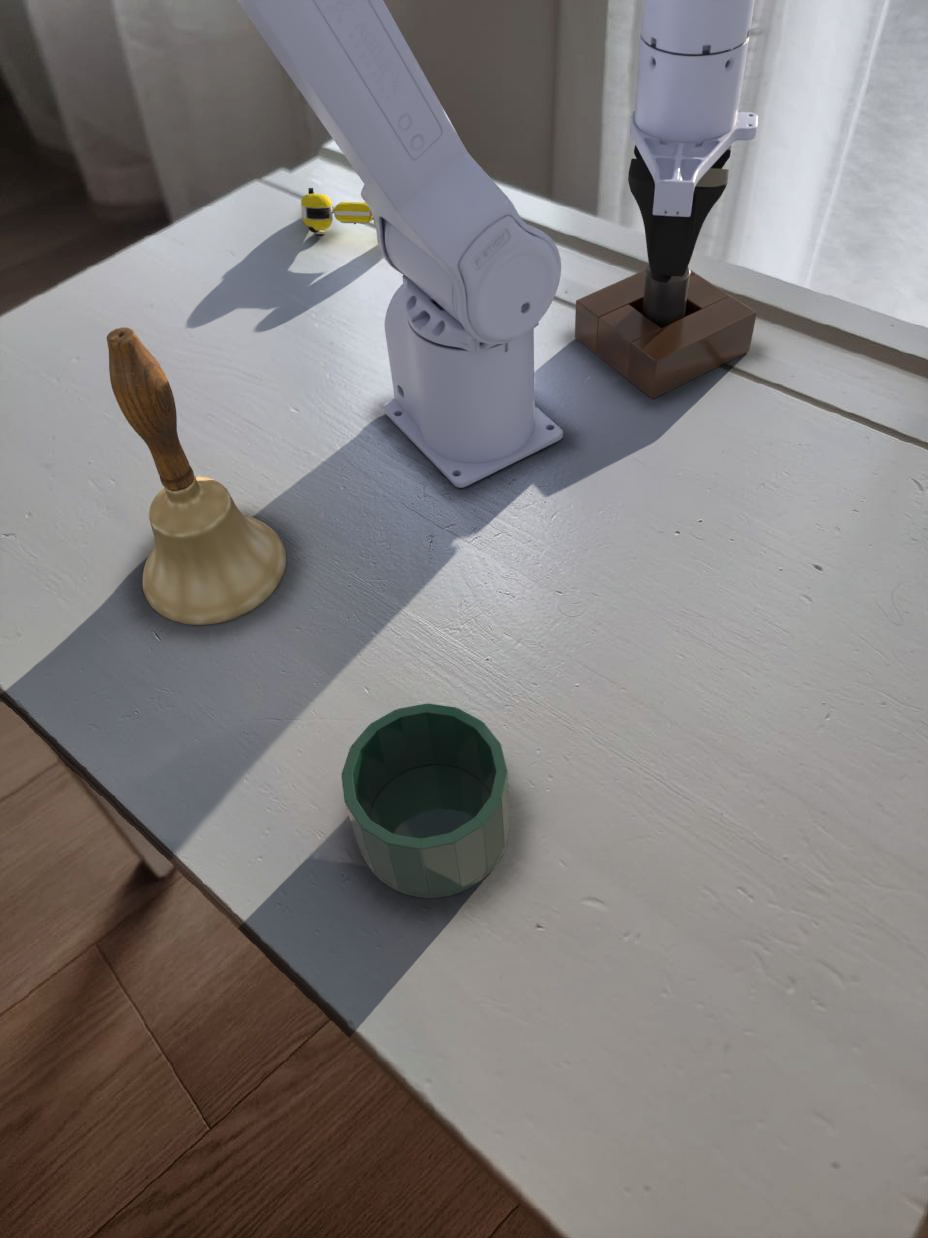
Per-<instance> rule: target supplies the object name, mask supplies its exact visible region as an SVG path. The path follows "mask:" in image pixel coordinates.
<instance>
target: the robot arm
mask: <svg viewBox="0 0 928 1238" xmlns="http://www.w3.org/2000/svg"><path fill="white" fill-rule="evenodd" d="M236 1H237V3H238V4H239V5H240V8H242V10H243V11H244V13H245V14H246V16H247V17H248V19H249V20H250V22H251V23H252V25H253V26H254V27H255V29H256V30H257V32H258V33H259V34H260V36H261V37H262V39H263V40H264V41H265V43H266V45H267V47H269V49H270V50H271V52H272V53H273V55H274V56H275V57H276V59H277V61H278V62H279V64H280V65H281V66H282V68H283V69H284V70H285V72H286V74H287V75H288V76H289V78H290V80H291V81H292V82H293V83H294V85H295V87H296V88H297V89H298V91H299V92H300V93H301V95H302V97H303V98H304V100H305V101H306V103H307V104H308V105H309V106H310V109H312V111H313V112H314V114H315V116H316V117H317V118H318V119H319V121H320V122H321V124H322V125H323V127H324V128H325V129H326V131H327V132H328V134H329V136H330V137H331V138H332V141H334V143H335V144H336V145H337V147H338V148H339V150H340V151H341V153H342V154H343V156H344V157H345V158H346V160H347V161H348V163H349V164H350V165H351V167H352V169H353V170H354V171H355V173H356V175H358V177H359V179H360V180H361V181H362V183H363V186H362V188H361V191H360V196H361V198H362V200H363V201H364V203H366V204H367V205H368V207H369V209H370V210H371V212H372V214H373V217H374V220H375V223H376V227H375V231H376V239H377V244H378V248H379V251H380V253H381V255H382V257H383V259H384V260H385V261H386V263H387V264H388V265H389V266H390V267H392V269H394V270H395V271H397V272H398V273H400V274H401V275H402V284H401V285H400V286H399V287H398V288H397V289H396V291H395V292H394V294H393V295H392V297H391V299H390V301H389V303H388V306H387V309H386V312H385V317H384V335H385V339H386V347H387V355H388V363H389V368H390V374H391V382H392V389H393V390H392V391H393V394H394V395H393V396H394V398H393V399H391V400H389V401H387V402H385V403H384V404H383V405H382V409H383V412H384V414H385V415H386V416H387V417H388V419H390V421H392V422H393V423H394V424H395V426H396V427H398V428H399V430H400V431H401V432H402V433H403V434H404V435H405V436H406V437H407V438H408V439H409V440H410V441H411V442H412V443H413V444H414V445H415V446H416V448H418V449H419V451H420V452H422V453H423V455H425V456H426V457H427V458H428V460H429V461H430V462H431V463H432V464H433V465H434V466H435V467H436V468H437V469H438V470H439V471H440V472H441V473H442V474H443V475H444V476H445V477H446V479H447V480H448V481H450V482H451V483H452V485H453V486H455V487H456V488H461V489H462V488H466V487H468V486H470V485H473V484H474V483H477V482H478V481H481V480H482V479H484V478H486V477H489V476H491V475H493V474H495V473H496V472H498V471H501V470H502V469H504V468H507V467H508V466H511V465H512V464H514V463H516V462H518V461H520V460H522V459H525V458H526V457H528V456H531V455H533V454H535V453H537V452H540V450H543V449H545V448H547V447H549V446H551V445H553V444H555V443H557V442H559V441H561V440H562V439H563V438H564V430H563V429H562V428H561V427H560V426H559V425H557V424H556V422H554V421H553V420H552V419H551V418H550V417H548V415H546V414H545V413H544V412H543V411H542V410H541V409H540V408H538V407H537V406H536V405H535V341H534V340H535V336H534V335H535V331H534V329H535V328H536V327H538V326H539V325H540V321H541V319H542V318H543V317H544V315H546V313H547V312H548V310H549V308H550V307H551V305H552V303H553V301H554V299H555V297H556V294H557V292H558V288H559V285H560V281H561V276H562V261H561V254H560V252H559V249H558V247H557V245H556V243H555V241H554V240H553V239H552V238H551V236H550V235H548V234H547V233H545V232H544V231H543V230H541V229H539V228H537V227H535V226H533V225H531V224H528V223H527V222H525V221H524V220H523V219H522V217H521V215H520V214H519V213H518V211H517V209H516V207H515V205H514V203H513V202H512V201H511V199H510V198H509V197H508V196H507V194H506V193H504V191H503V190H502V189H501V188H500V187H499V185H498V184H497V183H496V182H495V181H494V180H493V179H492V178H491V177H490V176H489V175H488V173H487V172H486V171H485V170H484V169H483V168H482V167H481V166H480V164H479V163H477V161H476V160H475V159H474V158H473V157H472V156H471V154H470V153H469V151H467V149H466V147H465V145H464V143H463V141H462V140H461V138H460V136H459V134H458V132H457V131H456V129H455V127H454V125H453V123H452V122H451V120H450V118H449V116H448V114H447V113H446V111H445V109H444V107H443V106H442V104H441V102H440V100H439V98H438V97H437V94H436V93H435V91H434V89H433V87H432V85H431V84H430V82H429V80H428V79H427V76H426V75H425V73H424V71H423V70H422V68H421V66H420V64H419V63H418V60H417V58H416V57H415V54H413V53H414V52H413V51H412V50H411V48H410V46H409V44H408V43H407V41H406V39H405V37H404V35H403V34H402V31H401V30H400V28H399V26H398V24H397V22H396V21H395V19H394V17H393V16H392V13H391V12H390V10H389V9H388V7H387V4H386V3H385V1H384V0H236ZM755 2H756V0H642V11H641V22H640V36H639V39H640V40H639V47H638V48H639V49H638V60H637V61H638V62H637V64H638V65H637V75H636V90H635V103H634V111H633V112H632V113H631V116H630V122H629V123H630V124H629V134H630V137H631V139H632V141H633V143H634V149H633V154H634V156H635V158H633V157H632V158H631V159H630V163H629V168H628V174H627V175H628V176H627V181H628V187H629V190H630V193H631V195H632V196H633V198H634V200H635V202H636V204H637V206H638V209H639V211H640V215H641V219H642V221H643V222H642V223H643V228H644V233H645V234H644V235H645V245H646V253H647V254H646V255H647V260H648V266H649V267H650V271H651V274H653V275H665V276H680V277H682V276H684V274H685V272H686V270H687V267H689V265H690V262H691V259H692V257H693V254H694V250H695V248H696V245H697V241H698V238H699V236H700V233H701V230H702V228H703V225H704V223H705V221H706V219H707V217H708V215H709V213H710V212H711V210H712V209H713V207H714V206H715V205H716V203H717V202H718V201H719V200H720V198H721V197H722V196H723V194H724V192H725V190H726V188H727V186H728V182H729V172H730V169H728V168H724V167H725V164H726V163H727V162H728V160H729V159H730V158H731V152H732V145H733V144H734V143H735V142H737V141H752V140H754V139H755V138H756V137H757V132H758V126H759V125H758V124H759V116H758V114H756V113H755V112H750V111H740V109H739V108H740V101H741V97H742V89H743V82H744V75H745V70H746V69H745V68H746V64H747V63H746V62H747V56H748V55H747V54H748V49H749V42H750V36H751V35H750V34H751V29H752V23H753V22H752V21H753V17H754V9H755ZM374 220H373V221H374Z"/></svg>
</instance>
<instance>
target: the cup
mask: <svg viewBox="0 0 928 1238" xmlns="http://www.w3.org/2000/svg"><path fill="white" fill-rule="evenodd" d="M340 776H341V784H342V794H343V799H344V800H343V801H344V804H345V807H346V811H347V814H348V817H349V820H350V823H351V827H352V830H353V832H354V836H355V839H356V842H357V845H358V849H359V851H360V852H361V854H362V856H363V859H364V861H365V862H366V865H367V866H368V868H369V869H370V870H371V872H372V873H373V874H374V875H375V876H376V877H377V878H378V879H379V880H380V881H381V882H382V883H384V884H385V885H386V886H388V887H389V888H391V889H392V890H395V891H397V892H399V893H402V894H403V895H407V896H411V897H415V898H423V899H438V898H447V897H451V896H454V895H458V894H460V893H462V892H464V891H467V890H469V889H470V888H473V887H474V886H476V885H477V884H478V883H480V882H481V881H483V880H484V879H485V878H486V877H487V876H488V875H489V874H490V873H491V872H492V871H493V870H494V868H495V867H496V866H497V865H498V863H499V861H500V860H501V858H502V856H503V855H504V852H505V851H506V846H507V844H508V839H509V832H510V823H511V814H510V813H511V812H510V811H511V810H510V794H509V793H510V791H509V774H508V767H507V763H506V758H505V755H504V751H503V747H502V744H501V742H500V741H499V739H498V738H497V737H496V735H494V733H493V732H492V731H491V729H489V727H488V725H486V723H485V722H483V720H481V719H479V718H477V717H475V716H474V715H472V714H470V713H468V712H466V711H464V710H462V709H460V708H458V707H457V706H450V705H442V704H436V703H421V704H416V705H410V706H405V707H400V708H396V709H393V710H391V711H390V712H388V713H386V714H384V715H383V716H381V717H380V718H378V719H376V720H374V721H372V722H371V723H369V725H368V726H367V727H366V728H365V729H364V730H363V731H362V732H361V734H360V735H359V736H358V737H357V739H355V741H354V742H353V743H351V745H350V747H349V749H348V753H347V756H346V758H345V762H344V765H343V768H342V771H341V775H340Z"/></svg>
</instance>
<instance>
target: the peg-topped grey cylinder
mask: <svg viewBox="0 0 928 1238" xmlns="http://www.w3.org/2000/svg"><path fill="white" fill-rule="evenodd" d="M645 270H646V276H645V287H644V298H643V309H642V315H644V316H645V317H646V318H648V319H649V320H651V321H652V322H653V323H655V324H656V325H658V326H659V327H660V328H663V327H665V326H668V325H670V324H672V323H674V322H676V321H678V320H680V319H682V318H684V317H685V309H686V302H687V294H688V287H689V279H690V270H691V269H690V267H689V266H688V267H687V270H686V272H685V274H684V276H682V277H680V276H665V275H653V274H651V271H650V267H649V265H648V266H647V267H646V269H645Z"/></svg>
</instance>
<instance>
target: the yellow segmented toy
mask: <svg viewBox="0 0 928 1238" xmlns="http://www.w3.org/2000/svg"><path fill="white" fill-rule="evenodd" d="M307 189H308V193H307V194H304V195H303V196H302V198H301V200H300V206H301V219H302V221H303V223H304V225H305V226H306V227H307V228H308V231H310V232H311V233H314V234H315V236H316V237H317V238H322V237H324V236H325V234H326V231H325V230H327V229H329V228H330V227H331V225H332V223H333V219H334V218H335V220H337V221H338V222H340V223H341V224H353V225H357V224H361V225H367V224H370V222H372V221H373V224H374V227H375V228H376V223H375V220H374V217H373V214H372V212H371V210H370V209H369V207H368V205H367V204H366V202H362V201H361V202H357V201H356V202H355V201H353V202H351V201H341V202H339V203H337V204H336V205H335V206H334V207H333V203H332V200H331V198H330V197H329V196H328V195H326V194H323V193H314V187H308V188H307ZM333 214H334V217H333Z"/></svg>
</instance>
